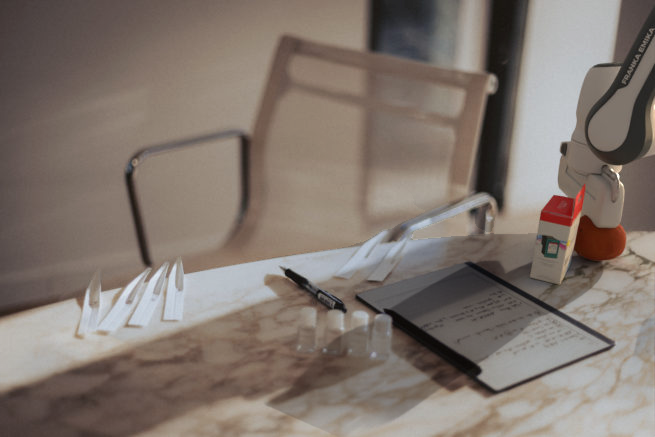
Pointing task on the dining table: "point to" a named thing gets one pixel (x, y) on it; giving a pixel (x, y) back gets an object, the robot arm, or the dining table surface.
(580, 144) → the robot arm
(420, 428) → the dining table surface
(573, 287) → the dining table surface
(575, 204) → the ink box
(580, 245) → the fruit
